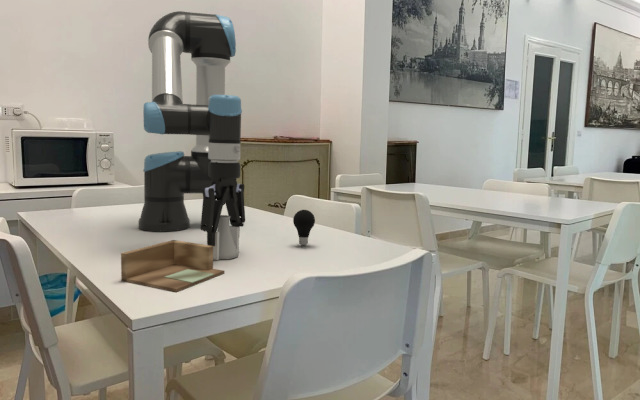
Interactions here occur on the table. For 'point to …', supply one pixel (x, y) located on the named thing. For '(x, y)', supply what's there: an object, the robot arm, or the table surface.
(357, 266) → the table surface
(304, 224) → the light bulb
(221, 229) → the flask
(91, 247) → the table surface
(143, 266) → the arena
